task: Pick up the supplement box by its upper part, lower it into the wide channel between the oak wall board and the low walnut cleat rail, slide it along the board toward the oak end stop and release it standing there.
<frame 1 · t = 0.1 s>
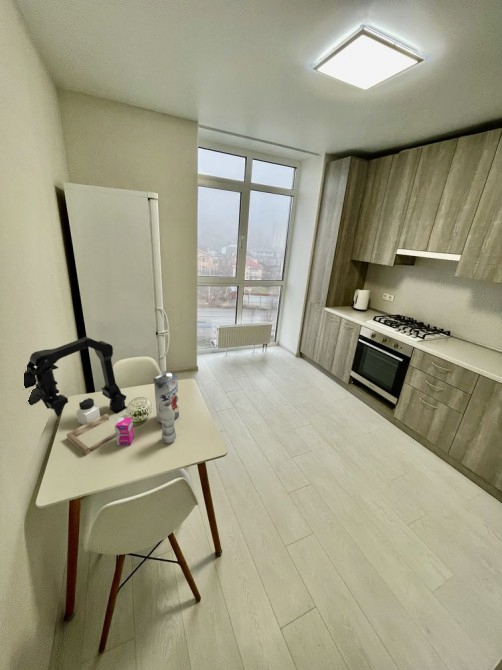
hand: (53, 412, 115), 15 cm above the table, fingers open, 9 cm apart
cleat bracket: (99, 434, 124), on the table
supplement box: (126, 441, 121), on the table
medicine bottle: (89, 421, 132), on the table
plastic bottle: (169, 440, 123), on the table
juice carton: (168, 419, 137), on the table
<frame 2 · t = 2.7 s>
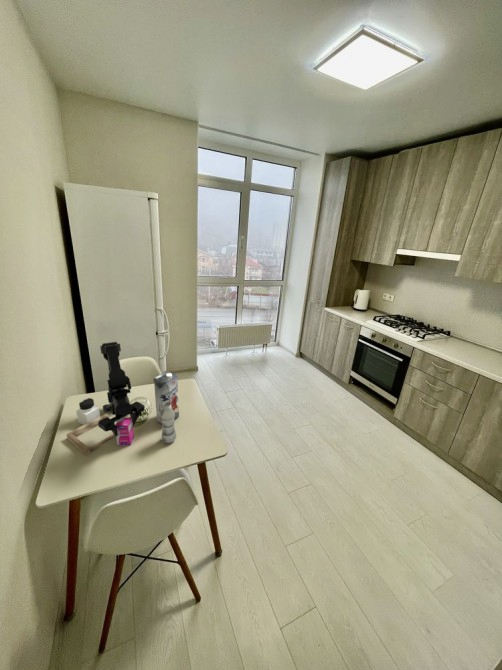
hand: (124, 430, 119), 6 cm above the table, fingers closed on supplement box, 8 cm apart
supplement box: (126, 441, 121), on the table, touching gripper
everything else where it was.
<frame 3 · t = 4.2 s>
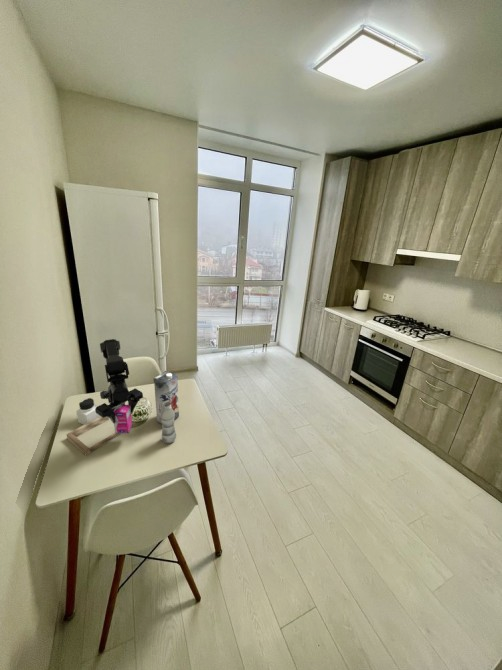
hand: (122, 418, 117), 13 cm above the table, fingers closed on supplement box, 8 cm apart
supplement box: (124, 429, 119), point 6 cm above the table, touching gripper
everything else where it was.
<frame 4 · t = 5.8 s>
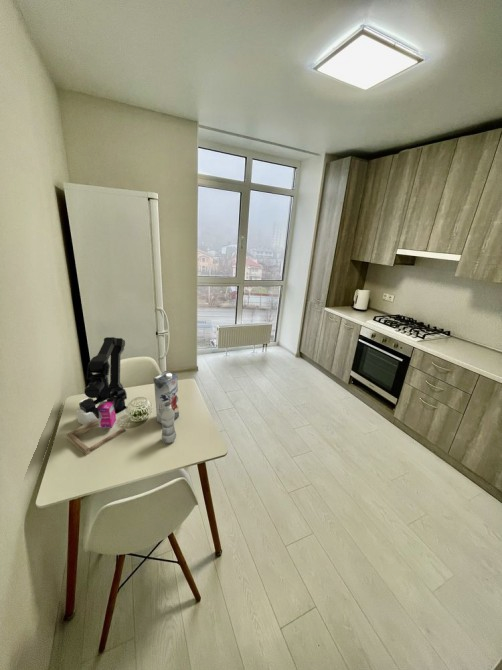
hand: (106, 413, 125), 9 cm above the table, fingers closed on supplement box, 8 cm apart
supplement box: (108, 424, 127), point 2 cm above the table, touching gripper
everything else where it was.
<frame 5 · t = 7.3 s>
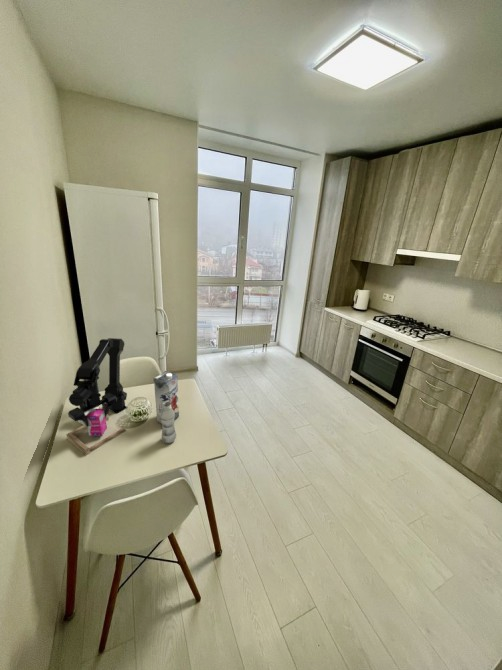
hand: (96, 421, 121), 8 cm above the table, fingers closed on supplement box, 8 cm apart
supplement box: (98, 432, 123), point 1 cm above the table, touching gripper
everything else where it was.
when the fingers open (7 cm above the table, at t = 8.5 s): supplement box drops 1 cm, resting in cleat bracket.
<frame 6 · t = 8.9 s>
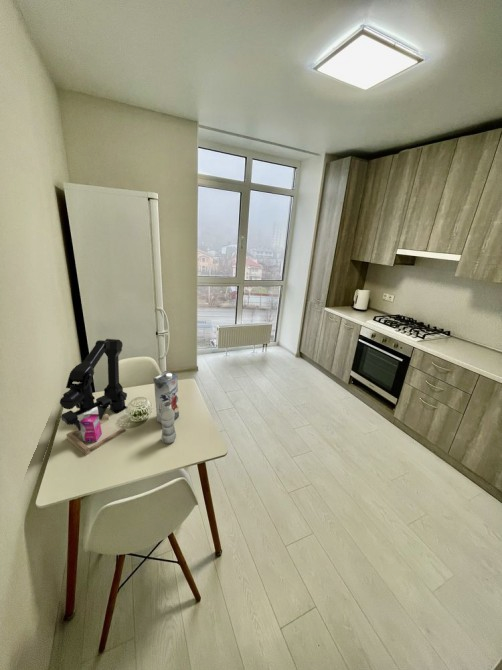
hand: (90, 424, 119), 7 cm above the table, fingers open, 9 cm apart
supplement box: (93, 438, 122), resting in cleat bracket
everything else where it was.
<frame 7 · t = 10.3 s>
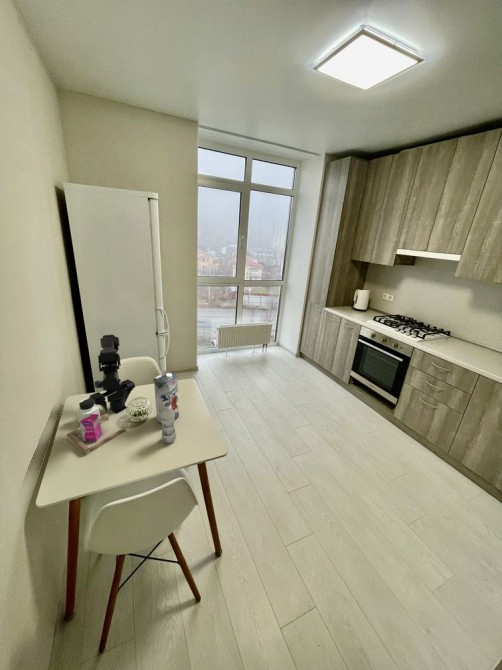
hand: (115, 406, 123), 13 cm above the table, fingers open, 9 cm apart
nothing on the table moved.
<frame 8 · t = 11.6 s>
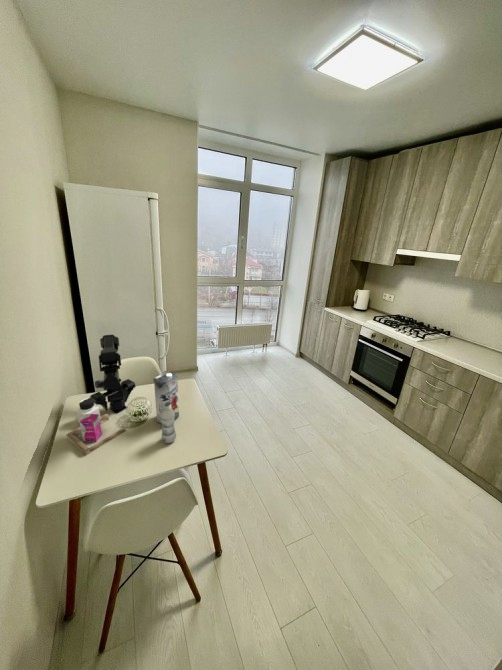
hand: (116, 406, 124), 13 cm above the table, fingers open, 9 cm apart
nothing on the table moved.
at the end: supplement box inside the target area on the cleat bracket (0.6 cm from its centre), point 0.0 cm above the cleat bracket's base; supplement box tilted 0°; the gripper is holding nothing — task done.
